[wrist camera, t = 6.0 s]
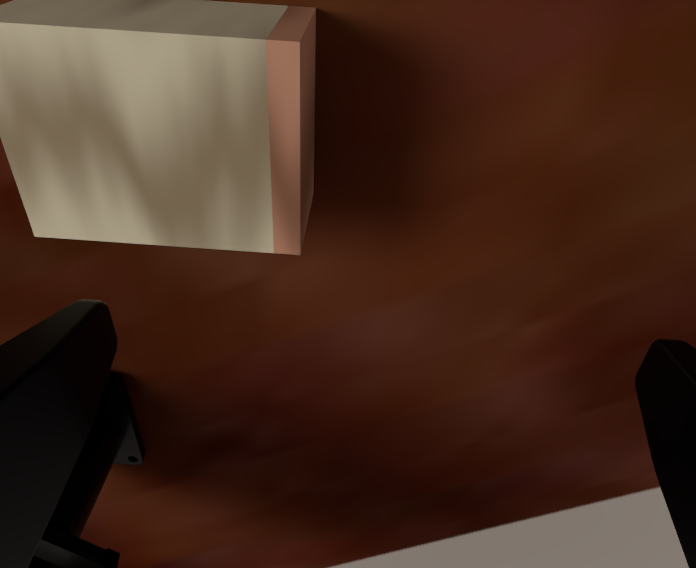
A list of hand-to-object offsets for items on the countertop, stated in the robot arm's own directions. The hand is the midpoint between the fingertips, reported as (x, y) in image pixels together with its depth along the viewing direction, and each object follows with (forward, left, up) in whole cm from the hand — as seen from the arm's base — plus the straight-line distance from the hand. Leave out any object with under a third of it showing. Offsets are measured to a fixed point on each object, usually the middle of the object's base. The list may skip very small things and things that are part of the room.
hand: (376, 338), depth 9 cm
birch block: (0, +2, -9) cm, 9 cm away
